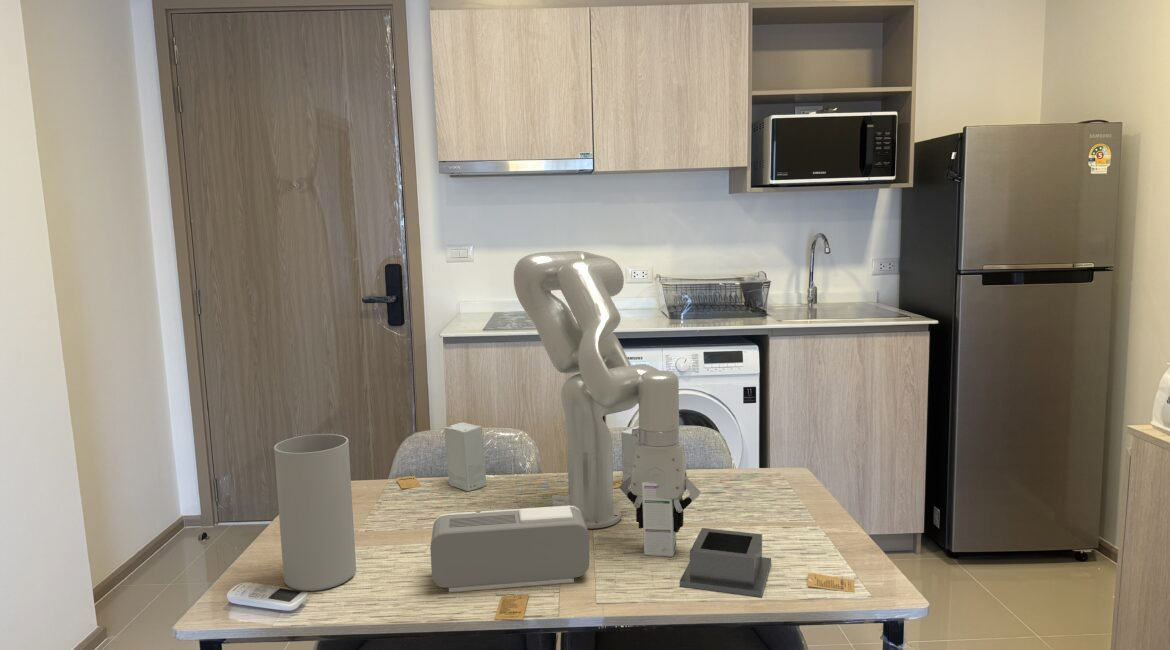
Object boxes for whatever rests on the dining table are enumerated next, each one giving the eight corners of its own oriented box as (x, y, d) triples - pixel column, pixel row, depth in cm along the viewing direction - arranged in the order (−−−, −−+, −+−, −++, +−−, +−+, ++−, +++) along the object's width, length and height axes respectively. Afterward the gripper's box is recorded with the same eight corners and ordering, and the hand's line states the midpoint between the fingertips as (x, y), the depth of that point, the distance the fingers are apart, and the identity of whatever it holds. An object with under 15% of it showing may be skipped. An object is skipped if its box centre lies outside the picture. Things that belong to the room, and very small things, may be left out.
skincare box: (487, 486, 195) (484, 426, 193) (466, 492, 191) (464, 431, 189) (466, 479, 201) (463, 420, 199) (446, 485, 197) (443, 425, 195)
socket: (679, 586, 140) (679, 553, 140) (695, 554, 153) (695, 524, 153) (761, 597, 136) (761, 563, 135) (771, 563, 149) (771, 532, 148)
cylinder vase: (286, 598, 139) (276, 457, 136) (282, 570, 150) (272, 439, 147) (361, 584, 144) (352, 447, 141) (351, 557, 155) (343, 430, 152)
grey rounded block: (583, 561, 152) (581, 500, 150) (589, 583, 143) (588, 518, 141) (435, 572, 148) (432, 510, 147) (432, 595, 139) (429, 529, 138)
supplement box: (664, 480, 197) (663, 429, 195) (645, 488, 192) (645, 436, 190) (639, 474, 202) (639, 424, 200) (621, 481, 196) (620, 431, 195)
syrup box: (673, 557, 152) (673, 482, 150) (642, 555, 154) (641, 481, 152) (676, 545, 158) (676, 473, 156) (646, 543, 159) (645, 472, 157)
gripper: (609, 438, 152) (610, 530, 154) (700, 445, 146) (700, 540, 149) (620, 428, 159) (622, 516, 161) (708, 434, 153) (708, 525, 156)
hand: (659, 527), depth 155 cm, fingers closed on syrup box, 6 cm apart
